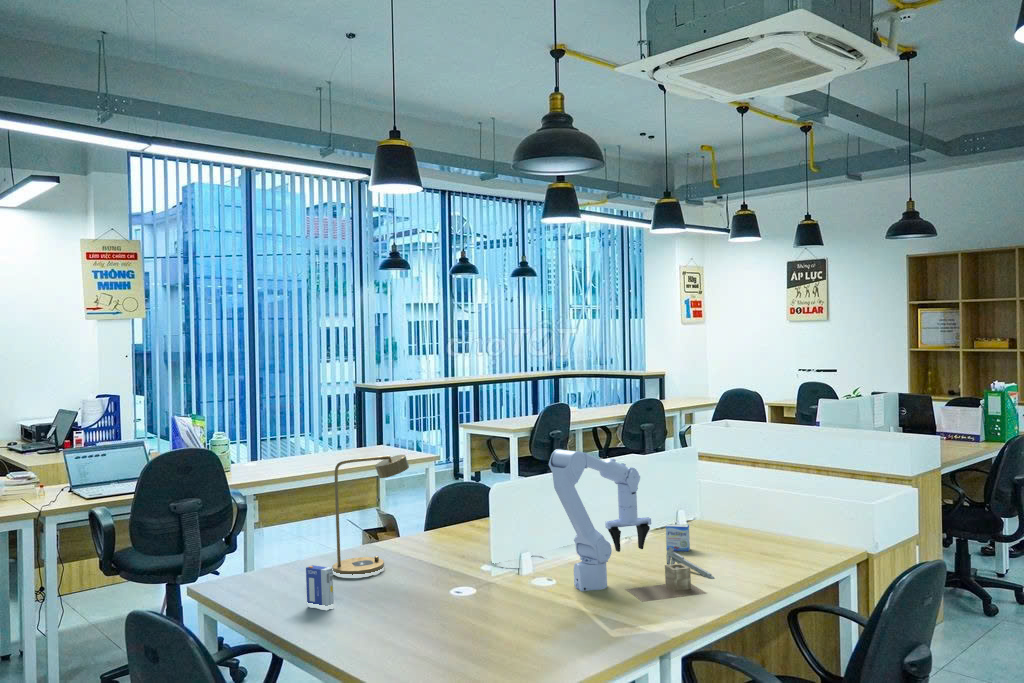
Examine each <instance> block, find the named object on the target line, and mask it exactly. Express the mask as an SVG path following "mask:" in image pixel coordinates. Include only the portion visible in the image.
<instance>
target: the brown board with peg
mask: <svg viewBox="0 0 1024 683" xmlns="http://www.w3.org/2000/svg"><path fill="white" fill-rule="evenodd" d="M677 568H679V567H675V569H677ZM625 591H627V592H628V593H629V594H631V595H632V596H634V597H635V598H637V599H638V600H639V601H640V602H642V603H643V602H649V601H650V602H651V601H659V600H667V599H674V598H680V597H681V598H682V597H688V596H696V595H704V594H707V591H705V590H703V589H701V588H699V587H698V586H697V585H694V584H692V583H691V589H685V590H678V591H673V590H672V589H670V588H669V587H667V586H666V583H664V584H663V583H662V584H657V585H648V586H640V587H639V586H638V587H632V588H631V587H630V588H625Z"/></svg>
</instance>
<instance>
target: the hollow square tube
mask: <svg viewBox="0 0 1024 683" xmlns="http://www.w3.org/2000/svg"><path fill="white" fill-rule="evenodd" d="M675 567H679V568H677V569H675ZM664 576H665V577H664V579H665V582H664V584H666V586H667V587H669V588H670V589H672V590H673V591H678V590H685V589H691V584H692V581H691V580H692V579H691V568H689V567H688V566H686V565H684V564H682V563H679V564H678V563H675V564H671V563H670V565H667V564H664Z"/></svg>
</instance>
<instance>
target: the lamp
mask: <svg viewBox="0 0 1024 683" xmlns="http://www.w3.org/2000/svg"><path fill="white" fill-rule="evenodd" d="M377 460H378V461H379V462H377V463H376V464H374V467H375V470H376V473H377V476H378V478H379V479H386V478H390V477H393V476H396V475H399V474H402V473H404V472H405V471H407V470H408V469H409V468H410V465H409V462H408V459H407V456H406V454H398V455H393V456H391V455H382V456H371V457H362V458H353V459H346V460H342V461H340V462H338V463H337V464H336V465H335V468H334V497H335V498H334V499H335V526H336V527H335V530H336V532H335V534H336V558H337V560H336V561H337V562H335V563H334V564H333V565H332V567H331V568H332V569H333V570H332V572H333V571H334V572H336V573H340V574H352V575H353V574H365V573H371V572H375V571H378V570H380V569H382V568H383V567H384V568H385V561H384V559H382V558H380V557H379V555H376V556H374V557H371V556H370V557H369V556H364V557H362V556H361V557H353V558H348V559H347V558H345V559H343V560H341V540H340V539H341V537H340V533H341V532H340V510H339V509H340V507H339V477H338V476H339V468H340V467H341V466H342V465H345V464H350V463H359V462H360V463H361V462H368V461H369V462H370V461H377ZM380 460H381V461H380Z"/></svg>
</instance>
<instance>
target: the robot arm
mask: <svg viewBox="0 0 1024 683" xmlns="http://www.w3.org/2000/svg"><path fill="white" fill-rule="evenodd" d="M549 458H550V459H549V461H548V467H549V469H550V470H551V473H552V481H553V486H554V490H555V492H556V494H557V496H558V498H559V500H560V503H561V505H562V507H563V509H564V510H565V513H566V515H567V517H568V519H569V522H570V523H571V525H572V528H573V529H574V531H575V533H576V535H575V537H574V538H573V541H574V545H575V550H576V553H577V555H578V556H579V557H580V558H579V560H580V562H576V563H574V565H573V582H574V583H573V584H574V587H575V589H578V590H579V591H580V592H586V591H600V590H604V589H607V588H608V573H607V572H608V571H607V567H608V566H607V563H608V562H609V559H610V557H611V555H612V545H611V543H610V542H609V541H608V540H607V539H605V536H604V534H601V533H600V531H598V530H597V529H596V528H595V526H594V524H593V522H592V520H591V518H590V515H589V514H588V511H587V510H586V507H585V505H584V504H583V503H584V502H583V501H582V499H581V497H580V495H579V493H578V491H577V488H576V487H575V485H576V484H578V482H579V480H580V479H581V477H582V474H583V472H584V471H585V469H588V468H589V469H591V470H595V471H598V472H599V475H600V476H601V477H602V478H604V479H607V480H610V481H612V482H614V484H616V485H617V502H618V518H617V519H613V520H608V521H607V520H606V521H605V529H607V530H608V532H609V534H610V536H611V538H612V541H613V545H614V548H615V551H616V552H618V553H620V552H621V533H622V531H621V530H620V529H619V528H624V527H625V528H626V527H633V526H634V527H636V532H637V547H638V549H639V550H643V549H644V546H645V541H646V538H647V536H648V533H649V532H650V529H651V528H650V526H651V525H652V518H651V517H650V516H649V517H646V516H645V517H638V496H637V493H638V492H637V491H638V489H639V483H640V481H641V475H640V473H639V472H638V470H637V469H636V468H634V467H632V466H631V467H630V466H626V463H622V462H621V463H619V462H617V460H616V459H615V458H611V457H610V458H607V459H605V460H602V459H600V458H597V457H596V456H594V455H591V454H589V453H587V452H583V451H580V450H576V451H575V450H568V449H567V450H566V449H562V448H557V449H555V450H553V452H552V453H551V454H550V457H549Z"/></svg>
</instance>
